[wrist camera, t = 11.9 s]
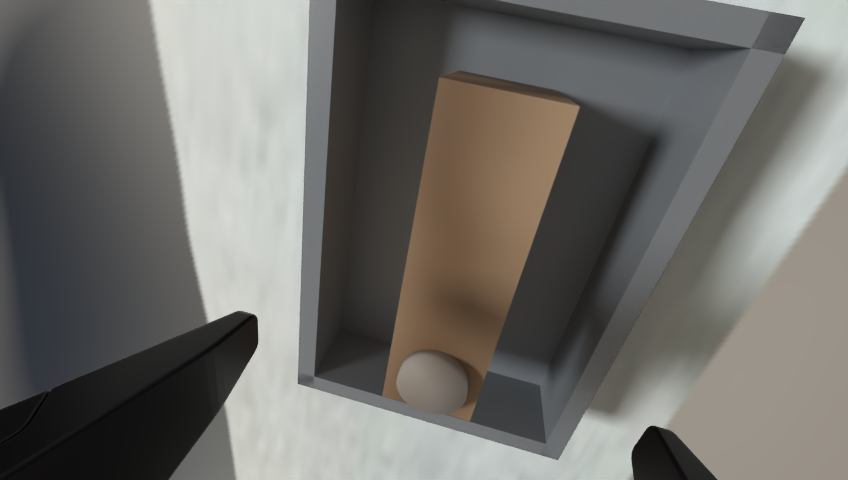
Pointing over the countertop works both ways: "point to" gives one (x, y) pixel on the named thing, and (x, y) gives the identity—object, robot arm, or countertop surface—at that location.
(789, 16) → the bin
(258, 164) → the countertop surface
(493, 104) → the strut
